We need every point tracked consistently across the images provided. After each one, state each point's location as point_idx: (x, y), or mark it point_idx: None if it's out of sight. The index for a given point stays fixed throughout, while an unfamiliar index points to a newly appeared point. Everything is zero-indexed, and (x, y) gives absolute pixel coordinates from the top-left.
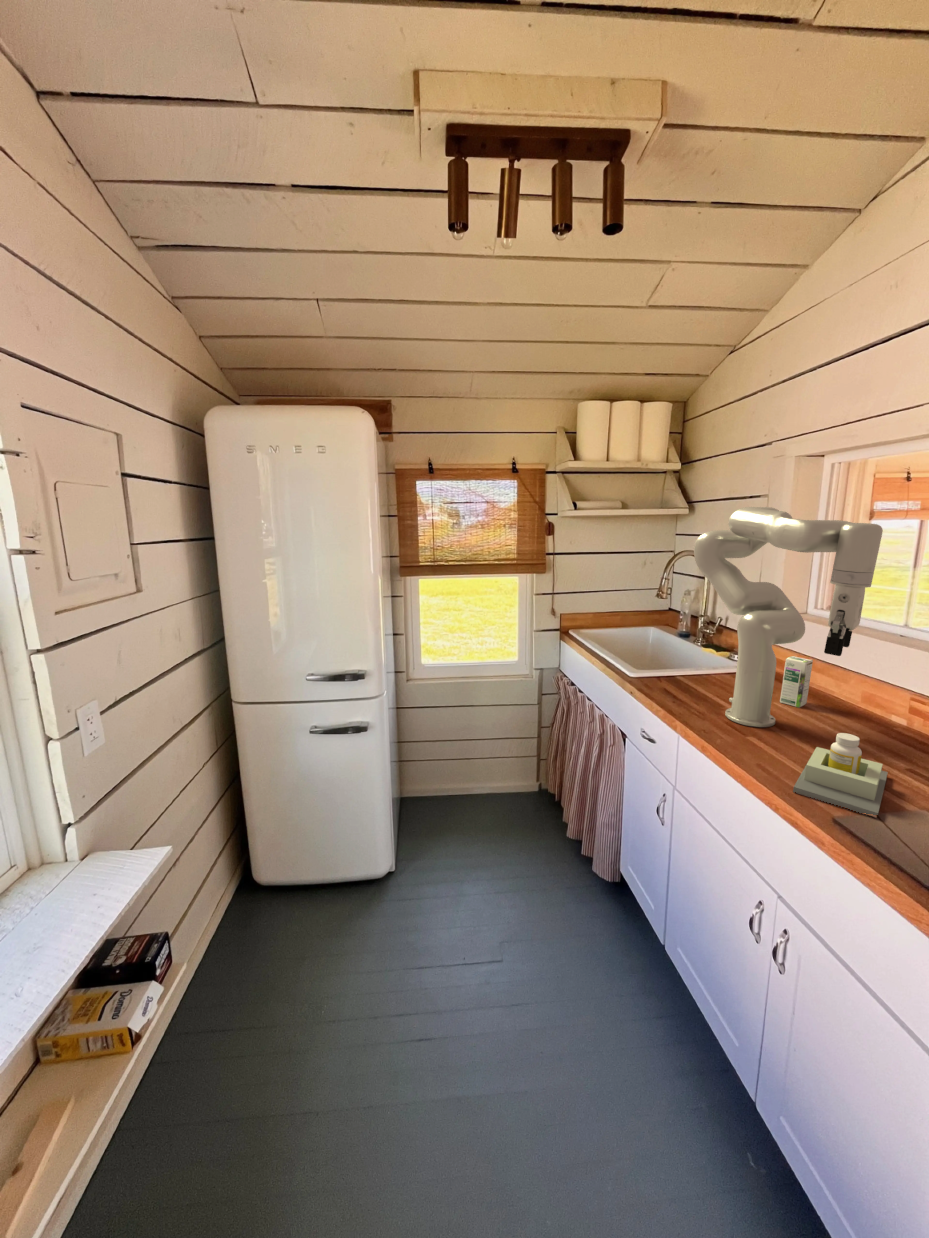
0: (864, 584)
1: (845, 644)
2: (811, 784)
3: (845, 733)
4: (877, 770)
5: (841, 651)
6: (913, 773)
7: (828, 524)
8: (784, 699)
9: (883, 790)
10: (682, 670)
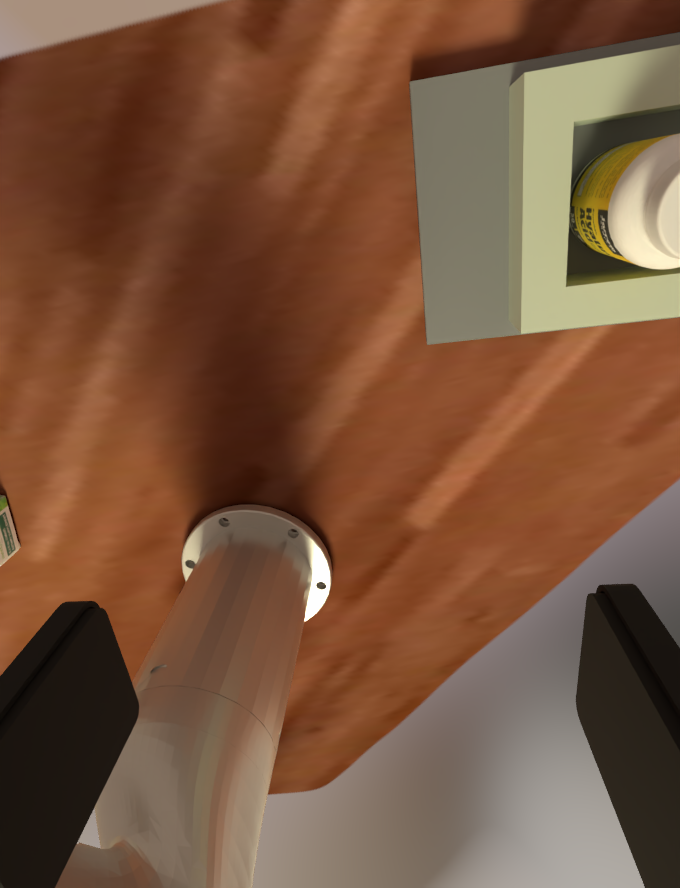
0: None
1: (97, 646)
2: None
3: (665, 231)
4: (629, 68)
5: (657, 625)
6: (280, 10)
7: None
8: (7, 546)
9: (611, 45)
10: None
